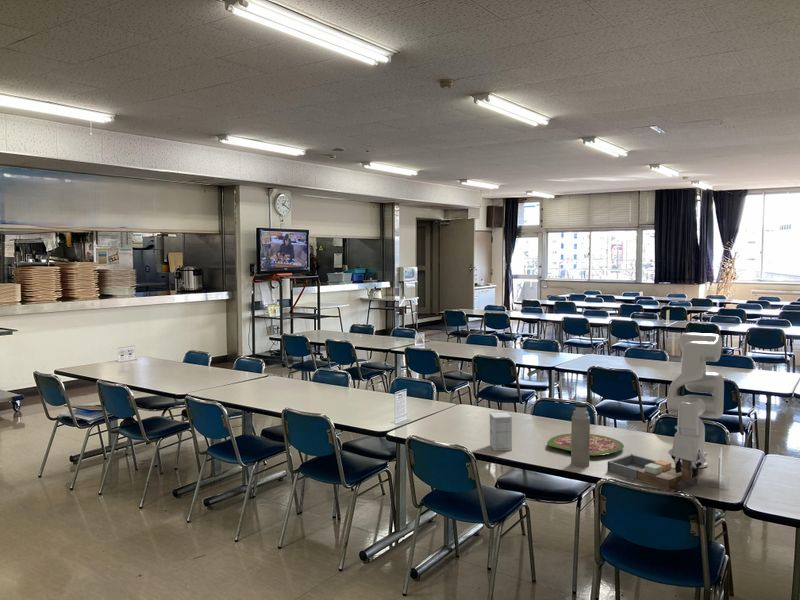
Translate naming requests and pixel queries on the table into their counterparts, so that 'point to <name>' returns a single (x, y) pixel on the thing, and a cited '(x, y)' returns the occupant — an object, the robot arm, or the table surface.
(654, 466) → the sage tile
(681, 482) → the scraper
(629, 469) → the box
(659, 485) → the tan flat block
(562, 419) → the table surface
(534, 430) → the table surface
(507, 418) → the supplement box
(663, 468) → the terracotta tile
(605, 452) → the pizza
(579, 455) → the thermos bottle
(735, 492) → the table surface
